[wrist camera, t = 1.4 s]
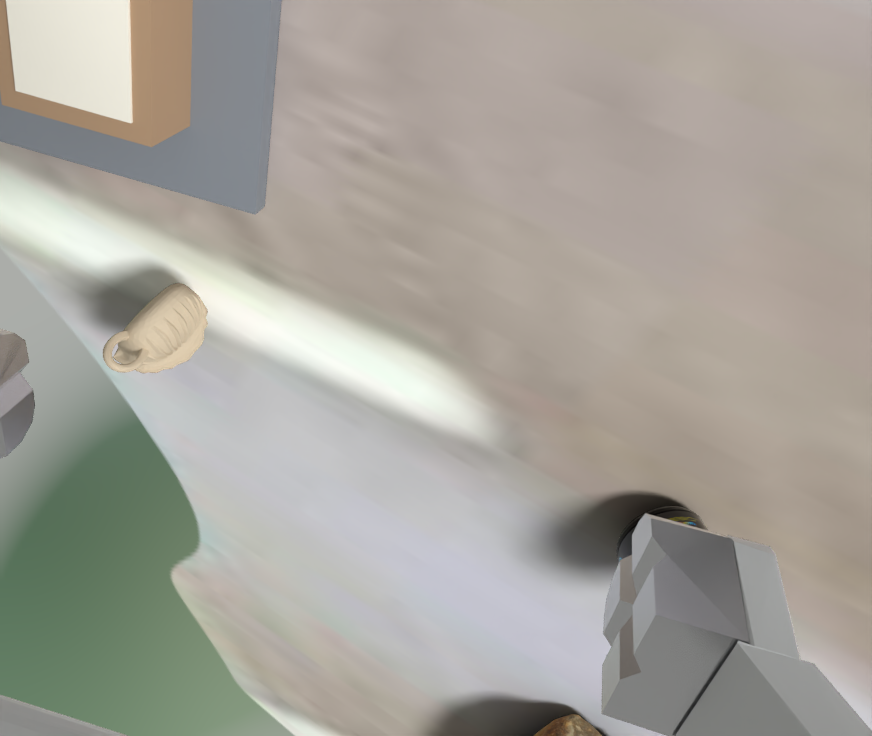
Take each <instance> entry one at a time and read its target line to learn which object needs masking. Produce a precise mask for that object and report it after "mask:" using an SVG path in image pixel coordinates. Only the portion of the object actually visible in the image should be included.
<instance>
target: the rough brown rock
mask: <svg viewBox="0 0 872 736" xmlns="http://www.w3.org/2000/svg"><path fill="white" fill-rule="evenodd" d="M534 736H602V735H601V734H600V733H599V732H598V731H597V730H596V729H595V728H594V727H593V726H592V725H591V724H590V723H588V722H587V721H585V720H584V719H583V718H581V717H580V716H579V715H574V714H570V715H567V716H564V717H561V718H558V719H555V720H553V721H552V722H551V723H549V724H548V725H547V726H545V727H544V728H542V729H541V730H540V731H539V732H537V733H536V734H535V735H534Z"/></svg>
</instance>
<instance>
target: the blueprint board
mask: <svg viewBox="0 0 872 736" xmlns="http://www.w3.org/2000/svg"><path fill="white" fill-rule="evenodd" d="M280 12H281V0H0V141H1V142H5V143H8V144H12V145H15V146H19V147H22V148H25V149H29V150H32V151H36V152H39V153H43V154H46V155H50V156H53V157H57V158H60V159H64V160H67V161H71V162H74V163H78V164H81V165H85V166H88V167H92V168H95V169H99V170H102V171H106V172H109V173H112V174H116V175H119V176H123V177H126V178H130V179H133V180H137V181H140V182H144V183H147V184H151V185H154V186H158V187H161V188H165V189H168V190H172V191H175V192H179V193H182V194H186V195H189V196H193V197H196V198H200V199H203V200H206V201H210V202H213V203H217V204H220V205H224V206H227V207H231V208H234V209H238V210H241V211H245V212H248V213H252V214H256V213H258V212H259V211H260V210H261V209H262V208H263V207H264V206H265V196H266V184H267V171H268V159H269V147H270V135H271V123H272V110H273V98H274V86H275V74H276V61H277V49H278V37H279V25H280Z"/></svg>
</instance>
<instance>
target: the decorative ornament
mask: <svg viewBox="0 0 872 736" xmlns="http://www.w3.org/2000/svg"><path fill="white" fill-rule="evenodd" d="M207 312H208V311H207V309H206V307H205V305H204V304H203V302H202V300H201V299H200V297H199V296H198V295H197V294H196V293H195V292H194V291H192V290H191V289H190V288H189V287H187V286H186V285H184V284H180V283H175V284H172V285H170V286H168V287H167V288H165V289H164V290H163V291H161V292H160V293H159V294H158V295H157V296H156V297H155V298H153V299H152V300H151V301H150V302H149V303H148V304H147V305H146V306H145V307H144V308H143V309H142V310H141V311H140V312H139V313H138V314H137V315H136V316H135V317H134V318H133V319H132V321H131V322H130V323H129V324H128V325H127V326H126V328H125V329H124V331H122V332H119V333H117V334H115V335H114V336H112V337H111V338H110V339H109V340H108V341H107V343H106V344H105V346H104V349H103V358H104V361H105V363H106V364H107V366H108V367H109V368H111V369H112V370H114V371H117V372H122V373H125V372H130V371H133V370H136V371H138V372H141V373H148V372H150V373H158V372H160V371H162V370H164V369H172V368H174V367H175V366H176V365H178V364H181V363H184V362H186V361H188V360H189V359H190V358H191V357H192V355H193V353H194V352H195V351H196V350H197V349H198V348H199V347H200V346H201V345H202V343H203V340H204V330H205V328H206V327H207V325H208V323H207V320H206V315H207ZM117 343H118V349H117V351H116V353H115V355H114V357H113V358H114V359H115V360H117V361H118V362H120V363H121V364H119V363H117V362H115V361H114V360H113V358H112V350H113V348H114V346H115V345H116V344H117Z"/></svg>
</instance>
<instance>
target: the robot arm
mask: <svg viewBox="0 0 872 736" xmlns="http://www.w3.org/2000/svg"><path fill="white" fill-rule="evenodd" d="M28 363H29V359H28V353H27V347H26V342H25V340H24V339H22V338H21V337H19V336H18V335H17V334H15V333H12V332H9V331H6V330H3V329H0V458H3V457H6V456H7V455H8V454H9V453H11V451H12V450H13V449H15V448H16V447H17V446H18V445H19V444H20V443H21V442H22V440H23V438H24V436H25V435H26V433H27V431H28V429H29V427H30V425H31V423H32V420H33V414H34V408H35V402H34V393H33V389H32V388H31V386H30V385H29V384H28V382H27V381H26V380H25V378H24V377H23V376H22V374H21V373H20V372H21V371H22V370H23V369H24V368H25V367H26V365H27V364H28ZM603 634H604V636H605V637H606V639H607V640H608V642H609V643H610V645H611V649H610V651H609V653H608V655H607V657H606V659H605V661H604V663H603V665H602V714H604V715H607V716H610V717H613V718H616V719H619V720H622V721H625V722H628V723H631V724H634V725H637V726H640V727H643V728H646V729H649V730H652V731H655V732H658V733H661V734H664V735H667V736H872V731H871V730H870V728H869V727H868V726H867V725H866V724H865V723H864V721H863V720H862V719H861V718H860V717H859V716H858V714H857V713H856V712H855V711H854V710H853V709H852V707H851V706H850V705H849V704H848V703H847V702H846V700H845V699H844V698H843V697H842V696H841V695H840V693H839V692H838V691H837V690H836V689H835V688H834V686H833V685H832V684H831V683H830V682H829V681H828V679H827V678H826V677H825V676H824V675H823V674H822V672H821V671H820V670H819V669H818V668H817V667H816V665H815V664H813V663H810V662H807V661H804V660H801V657H800V653H799V649H798V645H797V641H796V637H795V633H794V628H793V624H792V620H791V616H790V612H789V608H788V604H787V599H786V595H785V591H784V587H783V583H782V579H781V574H780V570H779V566H778V562H777V558H776V554H775V552H774V551H773V550H772V548H771V547H770V546H767V545H763V544H760V543H756V542H752V541H748V540H744V539H741V538H737V537H733V536H729V535H728V536H725V535H722V534H718V533H715V532H711V531H708V530H704V529H700V528H697V527H693V526H690V525H686V524H682V523H679V522H675V521H672V520H668V519H665V518H661V517H657V516H654V515H650V514H647V513H645V515H644V516H643V517H642V518H641V519H640V520H639V522H638V524H637V526H636V528H635V530H634V532H633V534H632V555H630V556H628V557H626V558H624V559H622V560H620V562H619V564H618V566H617V569H616V571H615V573H614V575H613V578H612V581H611V584H610V588H609V592H608V595H607V599H606V605H605V613H604V628H603ZM0 736H127V735H124V734H121V733H118V732H115V731H112V730H109V729H106V728H103V727H99V726H96V725H93V724H90V723H87V722H84V721H81V720H78V719H74V718H71V717H68V716H65V715H62V714H59V713H55V712H53V711H49V710H46V709H43V708H40V707H37V706H34V705H31V704H28V703H24V702H21V701H18V700H15V699H12V698H9V697H6V696H3V695H0Z"/></svg>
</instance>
